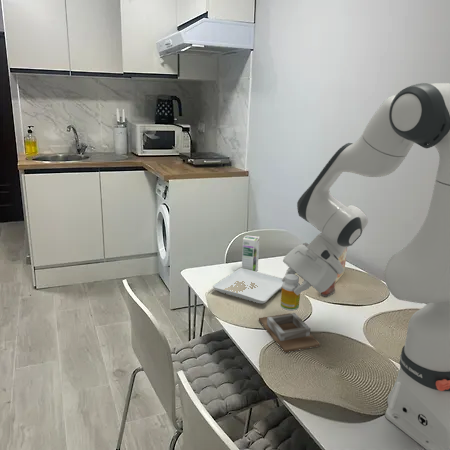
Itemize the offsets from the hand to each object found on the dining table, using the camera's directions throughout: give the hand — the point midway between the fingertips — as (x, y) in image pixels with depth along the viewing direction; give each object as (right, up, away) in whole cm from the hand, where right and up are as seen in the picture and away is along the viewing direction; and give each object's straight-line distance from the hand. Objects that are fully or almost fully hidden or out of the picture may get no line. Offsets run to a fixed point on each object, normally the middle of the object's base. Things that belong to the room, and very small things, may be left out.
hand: (289, 287), depth 121 cm
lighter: (+19, -7, +31) cm, 37 cm away
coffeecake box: (+23, -3, +45) cm, 50 cm away
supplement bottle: (0, -6, +2) cm, 6 cm away
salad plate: (-9, -6, +32) cm, 34 cm away
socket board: (0, -14, +5) cm, 15 cm away
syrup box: (-9, -1, +48) cm, 49 cm away
